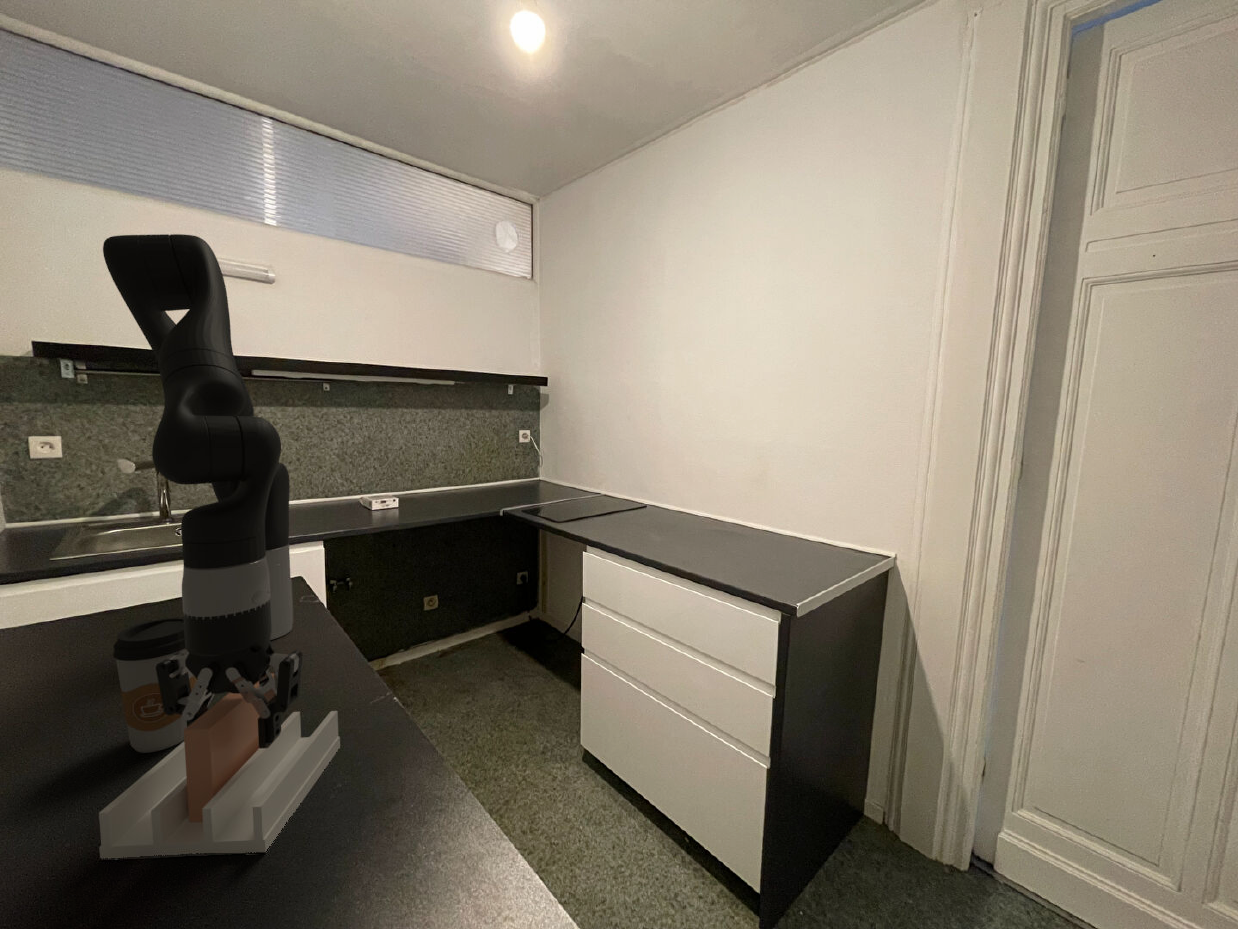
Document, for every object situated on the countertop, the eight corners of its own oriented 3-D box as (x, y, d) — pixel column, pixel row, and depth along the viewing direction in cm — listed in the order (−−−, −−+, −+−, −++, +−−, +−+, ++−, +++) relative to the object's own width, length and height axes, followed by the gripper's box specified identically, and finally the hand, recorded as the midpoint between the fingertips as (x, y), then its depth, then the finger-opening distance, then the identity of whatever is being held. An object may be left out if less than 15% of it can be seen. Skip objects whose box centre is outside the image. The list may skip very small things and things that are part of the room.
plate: (256, 750, 62) (253, 673, 61) (277, 750, 63) (274, 673, 62) (189, 822, 52) (183, 730, 51) (214, 821, 52) (209, 729, 51)
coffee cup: (108, 767, 61) (98, 648, 60) (134, 728, 68) (126, 621, 67) (195, 748, 65) (189, 635, 63) (212, 713, 72) (206, 611, 71)
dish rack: (217, 751, 64) (215, 713, 64) (340, 747, 66) (339, 711, 65) (100, 861, 49) (96, 813, 48) (265, 853, 50) (263, 806, 49)
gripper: (315, 588, 59) (319, 723, 61) (183, 588, 58) (192, 726, 60) (278, 613, 52) (284, 766, 53) (126, 614, 51) (137, 771, 52)
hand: (235, 744), depth 57 cm, fingers open, 6 cm apart
